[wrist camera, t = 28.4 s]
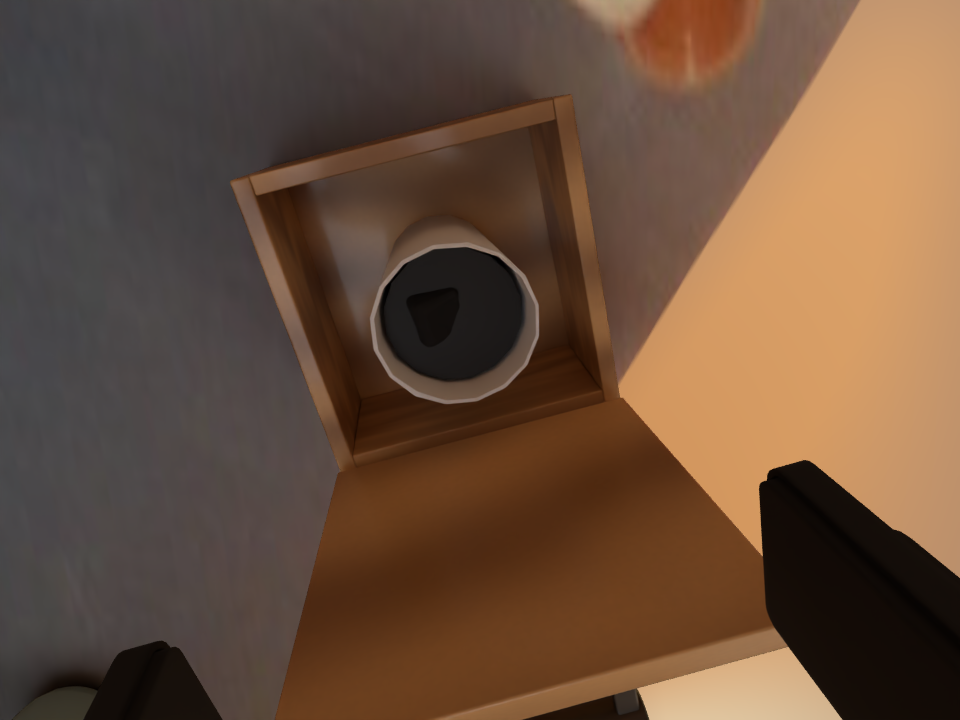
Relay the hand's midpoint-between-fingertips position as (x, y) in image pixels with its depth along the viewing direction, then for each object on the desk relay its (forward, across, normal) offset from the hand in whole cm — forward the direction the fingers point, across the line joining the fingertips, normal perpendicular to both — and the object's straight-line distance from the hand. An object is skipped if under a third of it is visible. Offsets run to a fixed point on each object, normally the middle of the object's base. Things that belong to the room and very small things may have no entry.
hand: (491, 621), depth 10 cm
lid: (+11, 0, +6) cm, 12 cm away
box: (+26, -1, 0) cm, 26 cm away
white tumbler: (+25, -1, +1) cm, 25 cm away
